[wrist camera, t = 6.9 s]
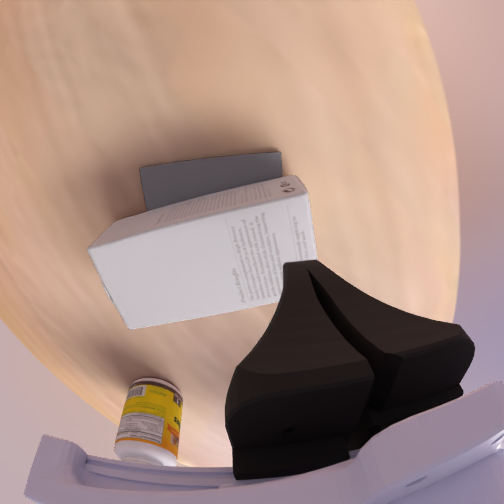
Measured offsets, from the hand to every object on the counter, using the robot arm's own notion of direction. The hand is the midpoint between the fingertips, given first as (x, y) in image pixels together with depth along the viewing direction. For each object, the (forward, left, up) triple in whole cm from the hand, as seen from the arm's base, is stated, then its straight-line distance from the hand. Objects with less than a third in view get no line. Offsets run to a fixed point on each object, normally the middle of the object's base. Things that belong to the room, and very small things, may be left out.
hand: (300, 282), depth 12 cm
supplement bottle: (-17, +12, -8) cm, 23 cm away
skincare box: (0, -2, -5) cm, 6 cm away
